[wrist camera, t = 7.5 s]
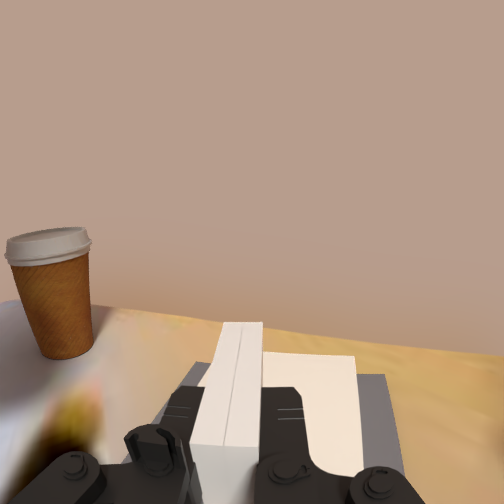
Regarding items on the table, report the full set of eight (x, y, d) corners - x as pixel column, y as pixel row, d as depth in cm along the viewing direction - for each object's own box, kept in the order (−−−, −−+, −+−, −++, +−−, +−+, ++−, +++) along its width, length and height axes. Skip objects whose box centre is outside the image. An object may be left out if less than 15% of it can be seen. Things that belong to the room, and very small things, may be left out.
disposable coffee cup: (125, 339, 32) (109, 226, 29) (58, 379, 23) (27, 246, 21) (73, 321, 35) (58, 225, 33) (14, 349, 27) (-10, 241, 24)
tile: (150, 457, 13) (221, 347, 24) (161, 487, 13) (223, 376, 25) (364, 486, 11) (354, 356, 22) (352, 514, 11) (349, 385, 23)
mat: (64, 548, 8) (59, 544, 8) (196, 367, 27) (196, 361, 27) (410, 614, 5) (415, 611, 4) (383, 379, 24) (384, 374, 23)
